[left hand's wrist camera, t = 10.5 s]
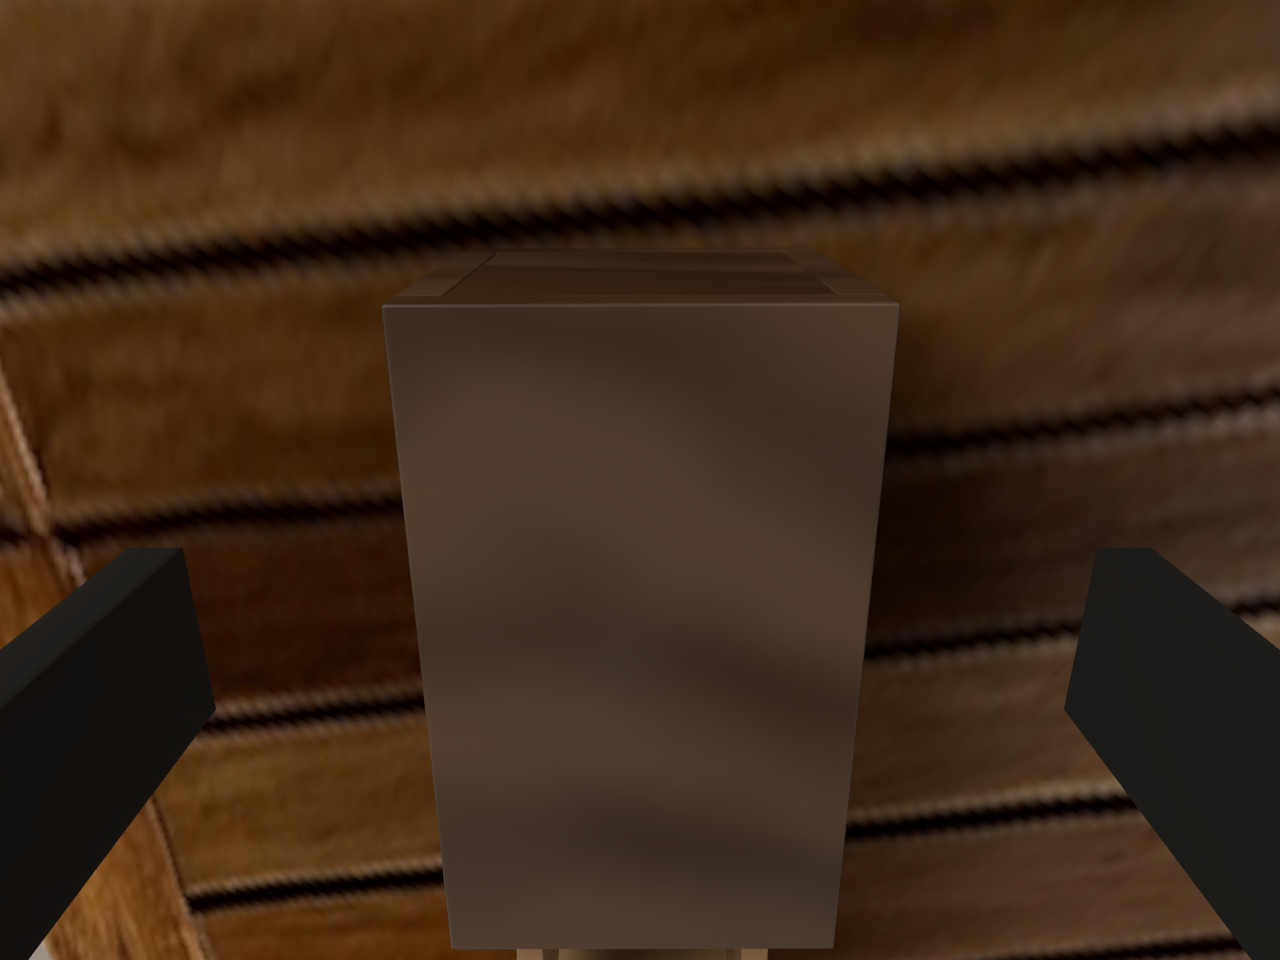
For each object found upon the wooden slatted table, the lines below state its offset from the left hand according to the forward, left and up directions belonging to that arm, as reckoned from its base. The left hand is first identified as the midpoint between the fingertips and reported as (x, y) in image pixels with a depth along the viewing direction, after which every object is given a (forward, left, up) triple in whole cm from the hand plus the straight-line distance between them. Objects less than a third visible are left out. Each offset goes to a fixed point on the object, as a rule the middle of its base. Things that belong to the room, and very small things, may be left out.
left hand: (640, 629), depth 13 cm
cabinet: (+1, +5, -16) cm, 17 cm away
